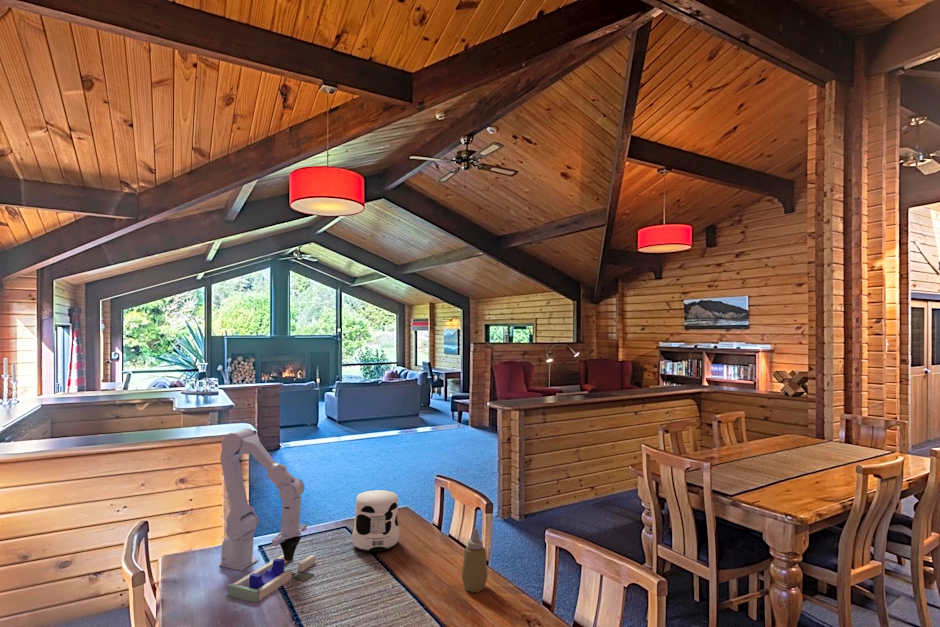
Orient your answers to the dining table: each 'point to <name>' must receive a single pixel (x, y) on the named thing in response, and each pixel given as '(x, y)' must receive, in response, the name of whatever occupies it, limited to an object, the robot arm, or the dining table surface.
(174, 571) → the dining table surface
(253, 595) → the lane
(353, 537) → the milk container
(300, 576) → the mat
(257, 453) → the robot arm
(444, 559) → the dining table surface
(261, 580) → the cable clip
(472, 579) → the squeeze bottle
